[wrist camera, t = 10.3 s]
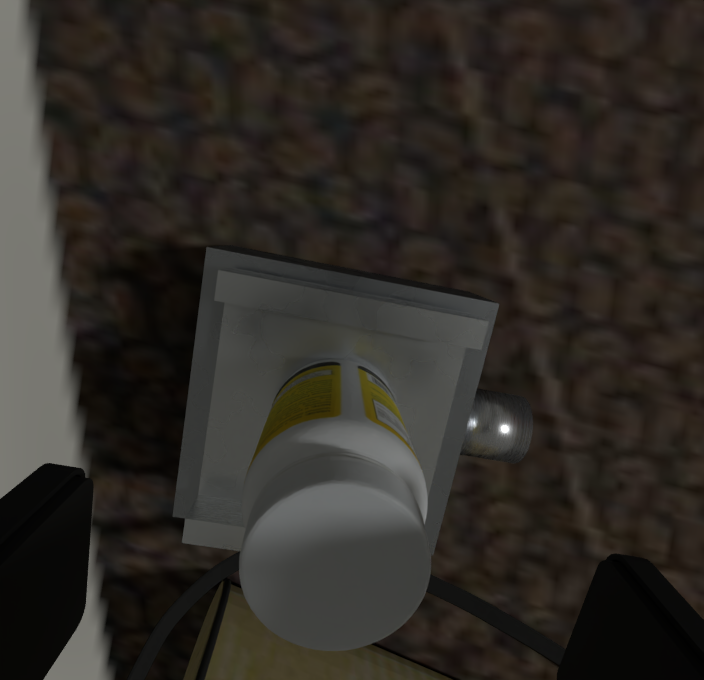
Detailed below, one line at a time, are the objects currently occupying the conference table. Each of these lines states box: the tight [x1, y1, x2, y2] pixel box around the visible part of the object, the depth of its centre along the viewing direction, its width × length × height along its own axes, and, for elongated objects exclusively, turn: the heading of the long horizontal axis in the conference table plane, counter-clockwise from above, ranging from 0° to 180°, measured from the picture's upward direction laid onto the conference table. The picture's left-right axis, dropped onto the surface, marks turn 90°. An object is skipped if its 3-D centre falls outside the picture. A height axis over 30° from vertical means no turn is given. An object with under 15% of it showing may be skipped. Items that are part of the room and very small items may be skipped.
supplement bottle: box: [239, 359, 431, 651], centre depth 13 cm, size 5×5×8 cm
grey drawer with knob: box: [173, 245, 533, 555], centre depth 19 cm, size 11×14×6 cm
